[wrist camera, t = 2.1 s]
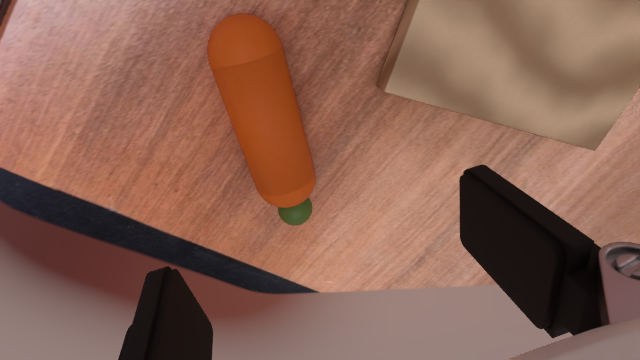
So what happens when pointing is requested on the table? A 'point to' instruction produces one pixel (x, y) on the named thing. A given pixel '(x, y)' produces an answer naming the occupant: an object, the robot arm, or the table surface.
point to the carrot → (264, 112)
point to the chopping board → (521, 62)
